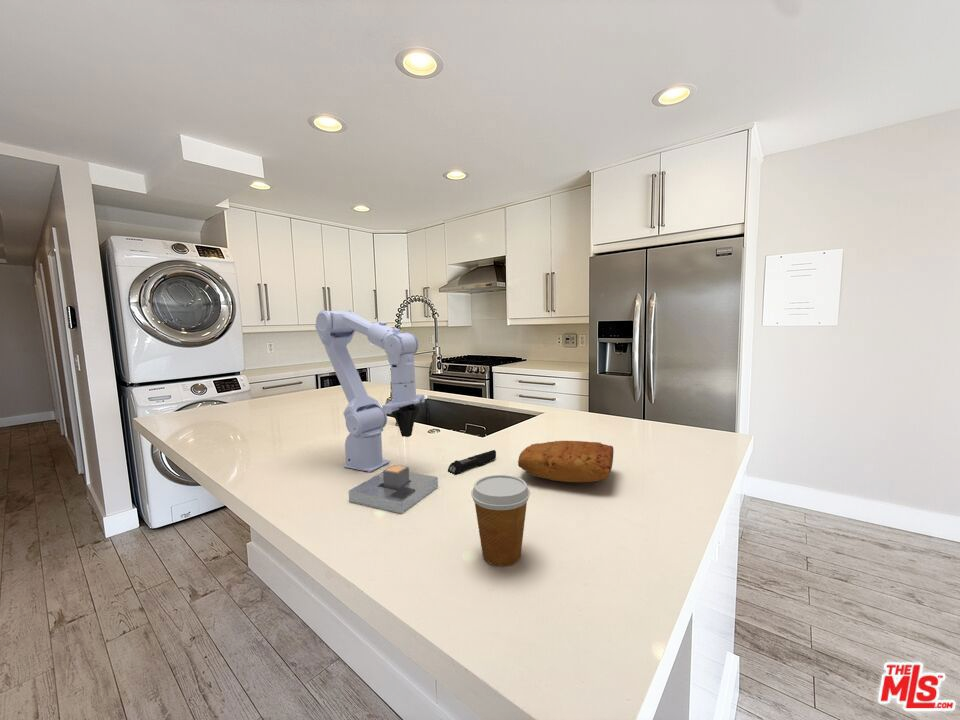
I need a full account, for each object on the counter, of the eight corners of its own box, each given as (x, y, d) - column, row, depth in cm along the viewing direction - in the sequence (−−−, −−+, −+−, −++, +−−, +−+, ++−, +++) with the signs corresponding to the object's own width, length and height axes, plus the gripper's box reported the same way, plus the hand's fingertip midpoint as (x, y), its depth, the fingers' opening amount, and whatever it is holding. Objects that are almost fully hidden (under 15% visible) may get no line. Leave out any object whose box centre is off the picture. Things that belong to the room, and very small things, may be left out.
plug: (384, 497, 89) (383, 470, 88) (395, 489, 92) (394, 464, 92) (398, 500, 87) (397, 473, 86) (409, 492, 91) (408, 466, 90)
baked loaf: (618, 471, 100) (618, 440, 99) (608, 500, 85) (608, 463, 84) (533, 460, 110) (533, 431, 109) (511, 483, 94) (510, 450, 94)
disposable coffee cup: (471, 541, 70) (469, 475, 69) (524, 537, 71) (523, 472, 70) (475, 575, 61) (473, 499, 59) (536, 570, 61) (535, 495, 60)
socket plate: (349, 501, 87) (348, 488, 86) (390, 478, 99) (389, 466, 99) (401, 513, 81) (400, 499, 80) (438, 487, 93) (437, 474, 93)
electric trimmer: (499, 462, 110) (499, 450, 110) (455, 476, 100) (455, 464, 100) (490, 458, 113) (490, 447, 113) (446, 472, 103) (446, 460, 103)
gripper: (398, 387, 90) (401, 445, 91) (433, 378, 103) (435, 429, 104) (373, 386, 93) (377, 443, 94) (410, 377, 106) (413, 427, 107)
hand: (406, 436), depth 99 cm, fingers closed
